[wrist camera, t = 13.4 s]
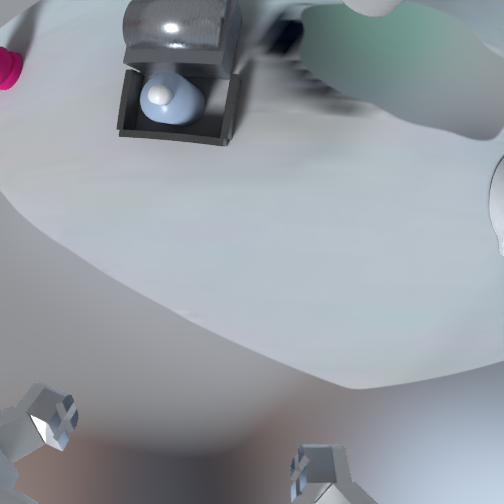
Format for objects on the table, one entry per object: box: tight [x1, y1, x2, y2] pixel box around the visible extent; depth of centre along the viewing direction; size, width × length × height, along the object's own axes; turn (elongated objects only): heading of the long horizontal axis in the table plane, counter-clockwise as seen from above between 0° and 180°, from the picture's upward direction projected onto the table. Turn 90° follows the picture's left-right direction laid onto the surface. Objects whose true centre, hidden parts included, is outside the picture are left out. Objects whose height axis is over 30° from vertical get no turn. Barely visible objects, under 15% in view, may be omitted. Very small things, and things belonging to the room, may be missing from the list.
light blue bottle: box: [140, 72, 205, 126], centre depth 27 cm, size 5×5×9 cm
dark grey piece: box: [117, 0, 242, 146], centre depth 26 cm, size 13×16×10 cm
